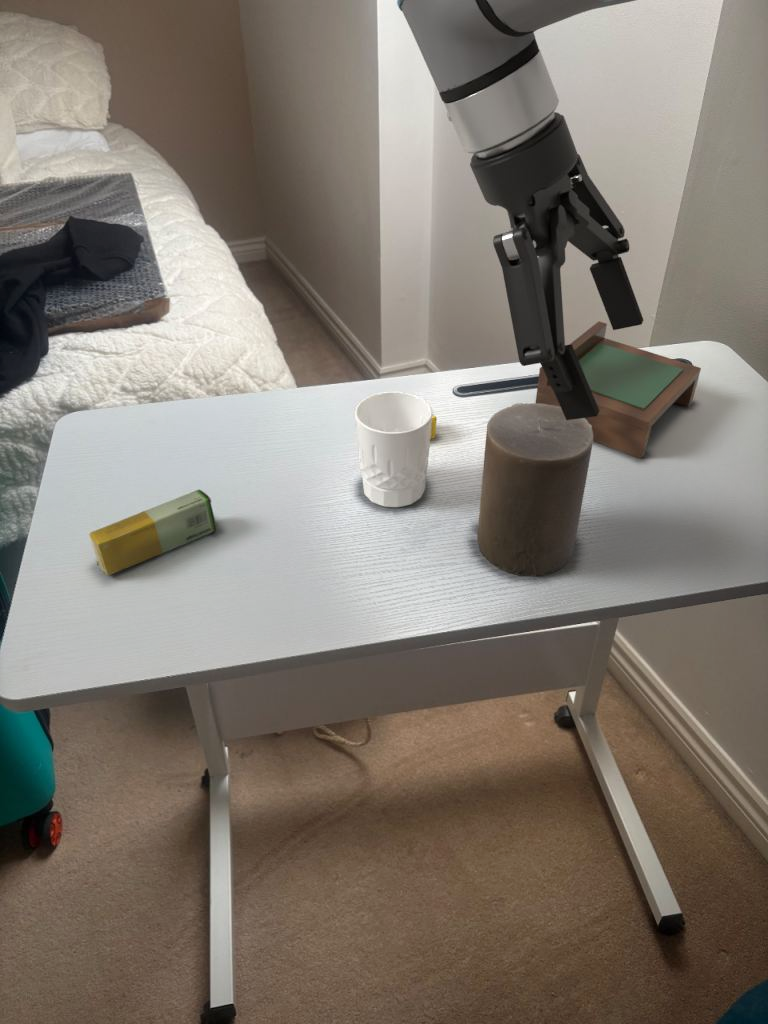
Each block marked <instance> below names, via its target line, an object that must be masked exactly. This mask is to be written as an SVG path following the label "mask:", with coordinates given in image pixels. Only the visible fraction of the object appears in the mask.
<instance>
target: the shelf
mask: <svg viewBox="0 0 768 1024" xmlns="http://www.w3.org/2000/svg"><path fill="white" fill-rule="evenodd" d="M607 326H608V324H607V323H606V322H602V321H600V320H599V321H597V322H596V323H594V324H593V325H592V326H590V327H589V328H588V329H587V330H585V332H583V333H582V334H581V335H579V336H578V337H577V338H576V339H574V340H573V341H572V342H571V343H569V344H568V345H570V344H572V346H573V349H574V351H575V353H576V356H577V358H578V361H579V363H580V365H581V368H582V370H583V372H584V375H585V377H586V380H587V382H588V384H589V387H590V389H591V392H592V394H593V396H594V399H595V401H596V403H597V406H598V408H599V413H598V415H597V416H595V417H587V418H585V419H586V420H587V421H588V423H589V424H590V425H592V431H593V442H595V443H598V444H601V445H603V446H606V447H608V448H611V449H614V450H617V451H619V452H621V453H625V454H627V455H630V456H632V457H635V458H637V459H642V458H643V457H644V456H645V455H646V451H647V446H648V442H649V439H650V434H651V430H652V426H653V425H654V424H655V423H656V422H657V421H658V420H659V419H660V418H661V417H662V416H663V415H664V413H666V412H667V410H668V409H670V407H671V406H672V405H673V404H674V403H676V404H679V405H681V406H685V407H688V408H689V407H690V406H691V405H692V403H693V401H694V398H695V393H696V389H697V385H698V381H699V378H700V373H701V370H702V368H701V367H699V366H697V365H692V364H690V363H686V362H684V361H680V360H677V359H674V358H670V357H667V356H665V355H661V354H658V353H655V352H652V351H648V350H644V349H641V348H638V347H635V346H631V345H628V344H626V343H622V342H619V341H615V340H613V339H609V338H607V337H606V332H607ZM535 395H536V396H535V403H537V404H539V403H540V404H547V405H553V406H558V407H560V404H559V402H558V400H557V398H556V396H555V393H554V391H553V390H552V388H551V386H550V383H549V381H548V379H547V377H546V374H545V372H544V370H543V368H542V366H541V367H539V372H538V380H537V389H536V394H535Z"/></svg>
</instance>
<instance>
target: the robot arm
mask: <svg viewBox="0 0 768 1024" xmlns="http://www.w3.org/2000/svg"><path fill="white" fill-rule="evenodd" d="M635 1H637V0H397V1H396V5H397V7H398V9H399V10H400V12H402V14H403V16H404V18H405V21H406V23H407V24H408V27H409V28H410V32H411V33H412V36H413V38H414V40H415V42H416V45H417V47H418V49H419V51H420V53H421V55H422V58H423V60H424V62H425V64H426V67H427V69H428V72H429V74H430V76H431V77H432V80H433V82H434V85H435V87H436V89H437V91H438V94H439V97H440V99H441V101H442V102H443V104H444V106H445V108H446V111H447V112H446V117H447V119H448V121H449V122H450V123H452V125H453V127H454V129H455V132H456V135H457V137H458V139H459V141H460V144H461V147H462V148H463V152H465V153H467V154H472V156H471V158H470V163H469V166H470V168H471V171H472V174H473V175H474V178H475V180H476V183H477V184H478V187H479V189H480V192H481V194H482V196H483V199H484V201H485V202H486V203H487V204H489V205H490V206H494V207H500V208H503V209H505V210H506V211H507V216H508V219H509V225H510V229H509V230H508V231H505V232H503V233H499V234H496V235H494V236H493V240H492V244H493V248H494V251H495V254H496V255H497V259H498V261H499V263H500V266H501V270H502V276H503V280H504V286H505V292H506V298H507V302H508V307H509V313H510V319H511V324H512V329H513V334H514V341H515V345H516V351H517V357H518V361H519V363H520V365H521V366H522V367H526V366H532V365H537V364H540V365H541V367H542V368H543V370H544V372H545V374H546V377H547V379H548V381H549V383H550V386H551V388H552V390H553V391H554V393H555V396H556V398H557V400H558V402H559V404H560V407H561V409H562V411H563V413H564V416H565V418H566V420H572V419H580V418H587V417H595V416H597V415H598V413H599V408H598V406H597V403H596V401H595V399H594V396H593V394H592V392H591V389H590V387H589V384H588V382H587V380H586V377H585V375H584V372H583V370H582V368H581V365H580V363H579V361H578V358H577V356H576V353H575V351H574V349H573V346H572V344H571V343H569V344H570V345H569V344H566V338H565V325H564V308H563V294H562V293H563V291H562V276H561V268H562V266H564V264H565V262H566V248H567V245H568V243H569V244H571V245H572V246H573V247H574V248H576V249H578V250H579V251H580V252H581V253H582V254H583V255H585V256H587V258H589V259H590V260H592V261H593V262H595V261H597V262H595V263H593V264H592V263H591V265H590V267H589V271H590V273H591V276H592V279H593V282H594V284H595V286H596V290H597V292H598V295H599V297H600V299H601V302H602V305H603V307H604V310H605V312H606V315H607V317H608V321H609V323H610V326H611V328H612V330H613V331H617V330H621V329H627V328H631V327H636V326H642V324H643V323H644V318H643V313H642V312H641V310H640V306H639V304H638V300H637V298H636V294H635V293H634V289H633V287H632V284H631V282H630V278H629V276H628V273H627V270H626V268H625V265H624V262H623V259H622V257H621V256H620V255H622V254H626V253H628V252H630V243H629V240H628V238H624V237H625V228H624V225H623V224H622V222H621V221H620V219H619V217H617V215H616V213H615V212H614V210H613V209H612V208H611V206H610V205H609V203H608V202H607V201H606V198H604V196H603V195H602V193H601V191H600V190H599V189H598V187H597V186H596V185H595V183H594V181H593V179H592V178H591V177H590V176H589V174H588V172H587V169H586V167H585V164H584V162H583V160H582V158H581V156H580V154H579V153H578V151H577V148H576V146H575V143H574V140H573V138H572V137H573V136H572V134H571V132H570V130H569V127H568V124H567V120H566V118H565V116H564V115H563V114H560V113H559V112H556V110H557V108H558V106H559V103H560V99H559V97H558V94H557V91H556V89H555V86H554V84H553V81H552V78H551V75H550V73H549V70H548V68H547V65H546V63H545V60H544V57H543V55H542V52H541V49H540V48H539V45H538V42H537V40H536V35H535V33H534V32H536V31H538V30H540V29H543V28H545V27H549V26H551V25H554V24H556V23H558V22H561V21H564V20H567V19H569V18H572V17H573V16H574V17H575V16H577V15H579V14H582V13H586V12H589V11H592V10H595V9H602V8H606V7H613V6H616V5H621V4H625V3H631V2H635ZM604 227H605V228H604ZM623 238H624V239H623Z"/></svg>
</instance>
